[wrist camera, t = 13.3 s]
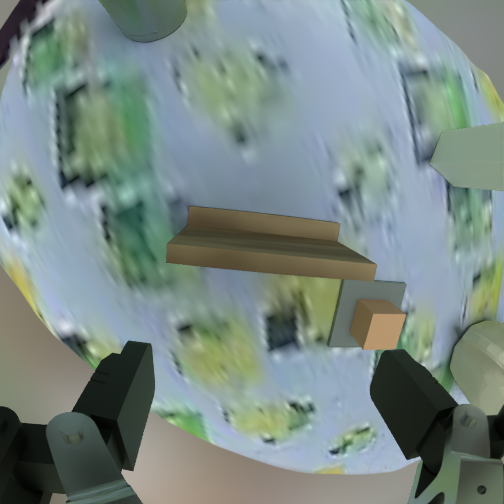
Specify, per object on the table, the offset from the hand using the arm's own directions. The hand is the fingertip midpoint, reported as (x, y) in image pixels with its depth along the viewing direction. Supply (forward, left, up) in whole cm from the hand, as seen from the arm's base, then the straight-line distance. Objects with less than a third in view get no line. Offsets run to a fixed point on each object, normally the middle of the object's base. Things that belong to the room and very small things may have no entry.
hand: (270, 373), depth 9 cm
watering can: (+17, +46, -27) cm, 56 cm away
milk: (-15, +28, -27) cm, 42 cm away
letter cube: (+9, +18, -26) cm, 33 cm away
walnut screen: (0, +2, -27) cm, 27 cm away
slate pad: (+9, +18, -27) cm, 34 cm away
